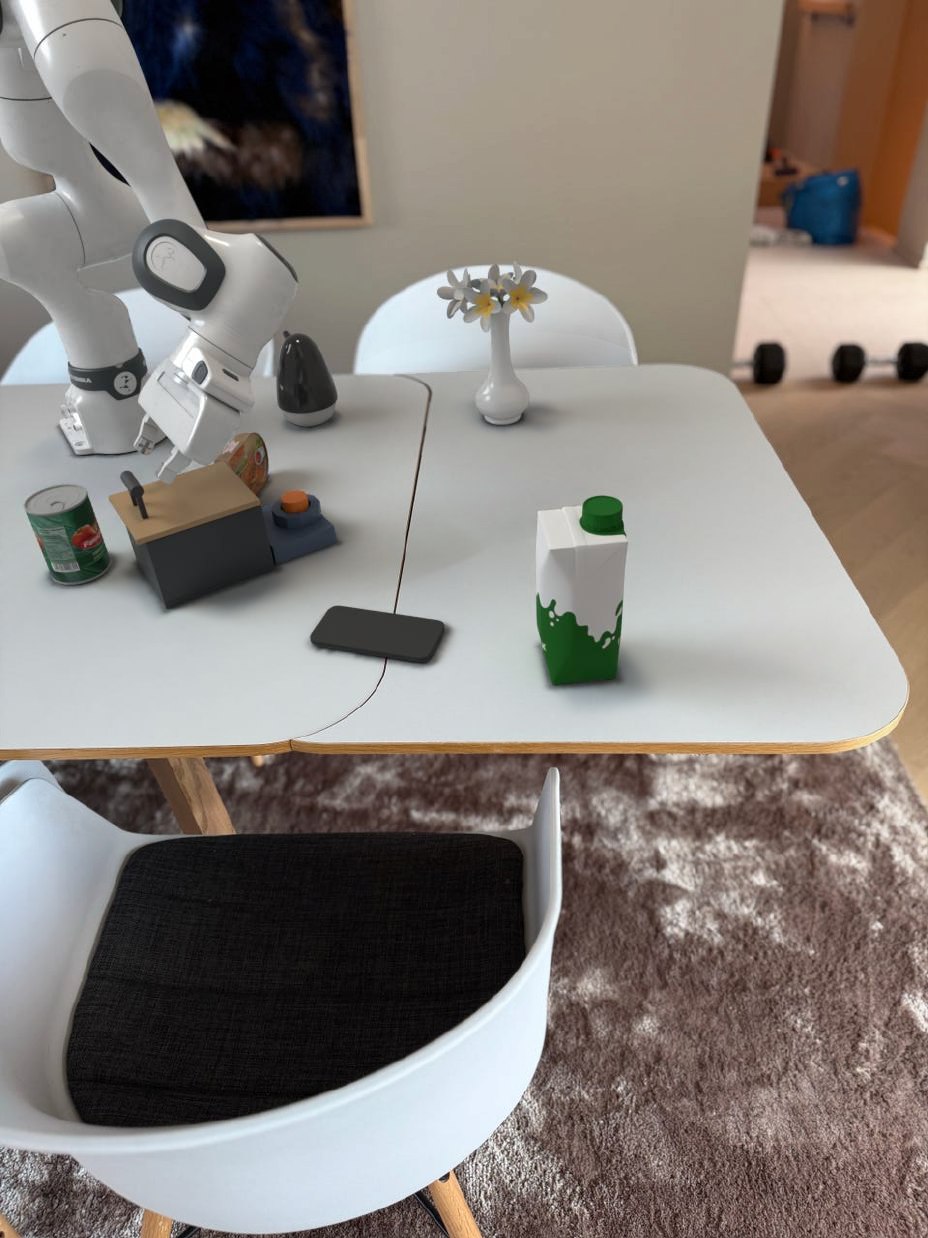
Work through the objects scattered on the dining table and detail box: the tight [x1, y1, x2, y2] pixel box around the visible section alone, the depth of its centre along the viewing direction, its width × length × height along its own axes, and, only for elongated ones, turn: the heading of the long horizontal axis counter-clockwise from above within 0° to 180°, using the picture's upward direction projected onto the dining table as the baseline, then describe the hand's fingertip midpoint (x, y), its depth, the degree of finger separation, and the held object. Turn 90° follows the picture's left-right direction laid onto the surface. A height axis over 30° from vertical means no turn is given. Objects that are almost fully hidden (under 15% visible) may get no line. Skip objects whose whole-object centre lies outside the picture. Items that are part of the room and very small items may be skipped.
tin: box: [213, 431, 270, 496], centre depth 135 cm, size 15×3×8 cm, turn 168°
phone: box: [309, 605, 446, 663], centre depth 108 cm, size 7×1×15 cm
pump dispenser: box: [275, 330, 339, 427], centre depth 153 cm, size 10×10×15 cm
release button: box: [280, 489, 309, 513], centre depth 125 cm, size 4×4×2 cm
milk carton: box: [535, 494, 629, 686], centre depth 96 cm, size 9×9×20 cm
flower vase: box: [436, 260, 549, 426], centre depth 147 cm, size 13×18×25 cm
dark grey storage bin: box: [125, 504, 276, 610], centre depth 120 cm, size 15×13×10 cm
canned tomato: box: [23, 483, 112, 586], centre depth 121 cm, size 8×8×11 cm
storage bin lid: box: [107, 461, 262, 545], centre depth 115 cm, size 16×13×5 cm
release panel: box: [261, 493, 337, 565], centre depth 126 cm, size 9×11×4 cm
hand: (150, 465), depth 112 cm, fingers open, 8 cm apart
